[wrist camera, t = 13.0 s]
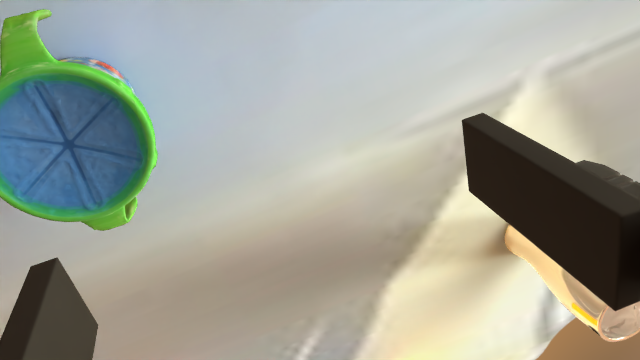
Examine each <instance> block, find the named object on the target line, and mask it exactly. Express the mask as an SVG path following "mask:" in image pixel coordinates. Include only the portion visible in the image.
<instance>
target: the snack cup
mask: <svg viewBox="0 0 640 360" xmlns="http://www.w3.org/2000/svg"><path fill="white" fill-rule="evenodd" d="M51 15H52V13H51V11H49V10H45V9H43V10H37V11H33V12H30V13H25V14H21V15H18V16H12V17H9V18H6V19H5V20H4V23H3V29H2V34H1V40H0V60H1V76H0V197H1V198H2V199H3V200H4V201H6V202H7V203H9V204H10V205H11V206H13V207H14V208H17V209H19V210H21V211H23V212H25V213H28V214H30V215H33V216H36V217H40V218H44V219H48V220H53V221H62V222H79V221H81V222H82V223H85V224H86V225H88V226H89V227H91V228H93V229H94V230H101V231H104V230H109V229H112V228H115V227H118V226H121V225H124V224H126V223H128V222H129V221H130V220H131V218H132V216H133V215H134V212H135V211H136V207H137V199H136V196H137V195H138V193H139V192H140V191H141V190H142V189H143V187H144V186H145V185H146V183H147V181H148V179H149V176H150V173H151V171H152V169H153V168H154V167H155V166H156V162H157V156H158V153H157V150H156V144H155V134H154V129H153V125H152V122H151V119H150V118H149V115H148V113H147V111H146V109H145V108H144V106H143V104H142V103H141V102H140V100H139V99H138V98H137V97H136V94H135V93H134V90H133V88H132V87H131V85H130V84H129V82H128V80H127V79H126V78H125V77H124V76H123V75H122V74H121V73H120V72H119V71H117V70H116V69H114V68H113V67H111V66H110V65H108V64H106V63H104V62H101V61H99V60H95V59H91V58H82V57H72V58H65V59H62V60H56V59H55V58H53V57H52V56H51V55H50V53H49V52H48V50H47V49H46V47H45V46H44V44H43V42H42V41H41V39H40V37H39V35H38V33H37V27H38V26H37V22H38V21H39V20H42V19H45V18H47V17H50V16H51Z"/></svg>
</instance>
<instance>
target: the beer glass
mask: <svg viewBox="0 0 640 360" xmlns="http://www.w3.org/2000/svg"><path fill="white" fill-rule="evenodd" d="M504 241H505V245H506V247H507V249H508V250H509V251H510V252H512V253H513V254H515V255H517V256H519V257H521V258H522V259H524V260H525V261H527V262H528V263H529V264H530V265H531V266H532V267H533V268H534V269H535V270H536V272H537V273H538V274H539V275H540V277H541V278H542V280H543V281H544V282H545V284H546V285H547V286H548V288H549V289H550V290H551V292H552V293H553V294H554V295H555V296H556V298H557V299H558V300H559V301H560V302H561V303H562V304H563V305H564V306H565V307H566V308H567V309H568V310H569V311H570V312H571V313H572V314H573V315H575V316H576V317H577V318H578V319H579V320H580V321H582V322H583V323H584V324H585V325H587V326H588V327H590V328H591V329H592V330H593V331H595V332H596V333H597V334H598V335H600V336H601V337H602V338H603V339H604V340H606V341H610V342H618V341H622V340H625V339H628V338H630V337H632V336H634V335H635V334H637V333H638V332H639V331H640V301H639V302H637V303H634V304H632V305H630V306H627V307H625V308H622V309H620V310H617V311H614V310H613V309H611V308H610V307H609V306H608V305H607V304H605V303H604V302H603V301H602V300H601V299H599V298H598V297H597V296H596V295H595V294H593V293H592V292H591V291H590V290H588V289H587V288H586V287H585V286H584V285H582V284H581V283H580V282H579V281H578V280H576V279H575V278H574V277H573V276H572V275H570V274H569V273H568V272H567V271H565V270H564V269H563V268H562V267H561V266H559V265H558V264H557V263H556V262H555V261H553V260H552V259H551V258H550V257H548V256H547V255H546V254H545V253H544V252H542V251H541V250H540V249H539V248H538V247H536V246H535V245H534V244H533V243H532V242H530V241H529V240H528V239H527V238H525V237H524V236H523V235H522V234H521V233H519V232H518V231H517V230H516V229H515V228H513V227H512V226H511V225H510V224H509V225H508V227H507V229H506V232H505V237H504Z"/></svg>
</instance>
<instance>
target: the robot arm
mask: <svg viewBox="0 0 640 360" xmlns="http://www.w3.org/2000/svg"><path fill="white" fill-rule="evenodd" d="M462 126H463V136H464V146H465V156H466V166H467V175H468V185H469V191H470V192H471V193H472V194H473V195H475V196H476V197H477V198H478V199H479V200H481V201H482V202H483V203H484V204H485V205H487V206H488V207H489V208H490V209H492V210H493V211H494V212H495V213H496V214H498V215H499V216H500V217H501V218H502V219H504V220H505V221H506V222H507V223H509V224H510V225H511V226H512V227H513V228H515V229H516V230H517V231H518V232H519V233H521V234H522V235H523V236H524V237H525V238H527V239H528V240H529V241H530V242H532V243H533V244H534V245H535V246H536V247H538V248H539V249H540V250H541V251H542V252H544V253H545V254H546V255H547V256H548V257H550V258H551V259H552V260H553V261H555V262H556V263H557V264H558V265H559V266H561V267H562V268H563V269H564V270H565V271H567V272H568V273H569V274H570V275H572V276H573V277H574V278H575V279H576V280H578V281H579V282H580V283H581V284H582V285H584V286H585V287H586V288H587V289H588V290H590V291H591V292H592V293H593V294H595V295H596V296H597V297H598V298H599V299H601V300H602V301H603V302H604V303H605V304H607V305H608V306H609V307H610V308H611V309H613V310H614V311H617V310H620V309H622V308H625V307H627V306H630V305H632V304H634V303H637V302H639V301H640V183H638V182H636V181H635V182H633V180H632V179H631V178H629V177H627V176H625V175H620V173H619V172H617V171H615V170H613V169H611V168H609V167H607V166H605V165H602V164H598V163H594V162H589V161H585V160H583V161H580V162H577V163H574V162H572V161H571V160H569V159H567V158H565V157H563V156H561V155H560V154H558V153H556V152H554V151H552V150H550V149H549V148H547V147H545V146H543V145H541V144H539V143H538V142H536V141H534V140H532V139H530V138H528V137H526V136H525V135H523V134H521V133H519V132H517V131H515V130H514V129H512V128H510V127H508V126H506V125H504V124H503V123H501V122H499V121H497V120H495V119H493V118H491V117H490V116H488V115H486V114H484V113H481V114H478V115H475V116H472V117H469V118H466V119H463V120H462ZM97 329H98V324H97V322H96V320H95V319H94V317H93V316H92V314H91V312H90V311H89V309H88V307H87V306H86V304H85V302H84V301H83V299H82V297H81V296H80V294H79V292H78V291H77V289H76V287H75V286H74V284H73V282H72V281H71V279H70V277H69V276H68V274H67V273H66V271H65V269H64V268H63V266H62V264H61V263H60V261H59V259H58V258H54V259H51V260H48V261H45V262H42V263H40V264H37V265H34V266H31V267H30V270H29V272H28V274H27V277H26V279H25V282H24V284H23V286H22V289H21V291H20V294H19V296H18V298H17V301H16V303H15V306H14V308H13V311H12V313H11V315H10V318H9V320H8V323H7V325H6V327H5V330H4V332H3V335H2V337H1V340H0V360H92V358H93V352H94V346H95V341H96V335H97Z"/></svg>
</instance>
